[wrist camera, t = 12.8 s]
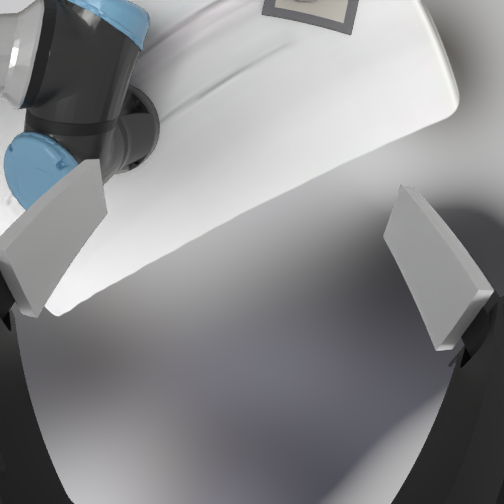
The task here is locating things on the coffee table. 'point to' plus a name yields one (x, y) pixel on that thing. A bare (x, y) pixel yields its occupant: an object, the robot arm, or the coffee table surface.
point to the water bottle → (305, 0)
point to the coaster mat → (316, 12)
